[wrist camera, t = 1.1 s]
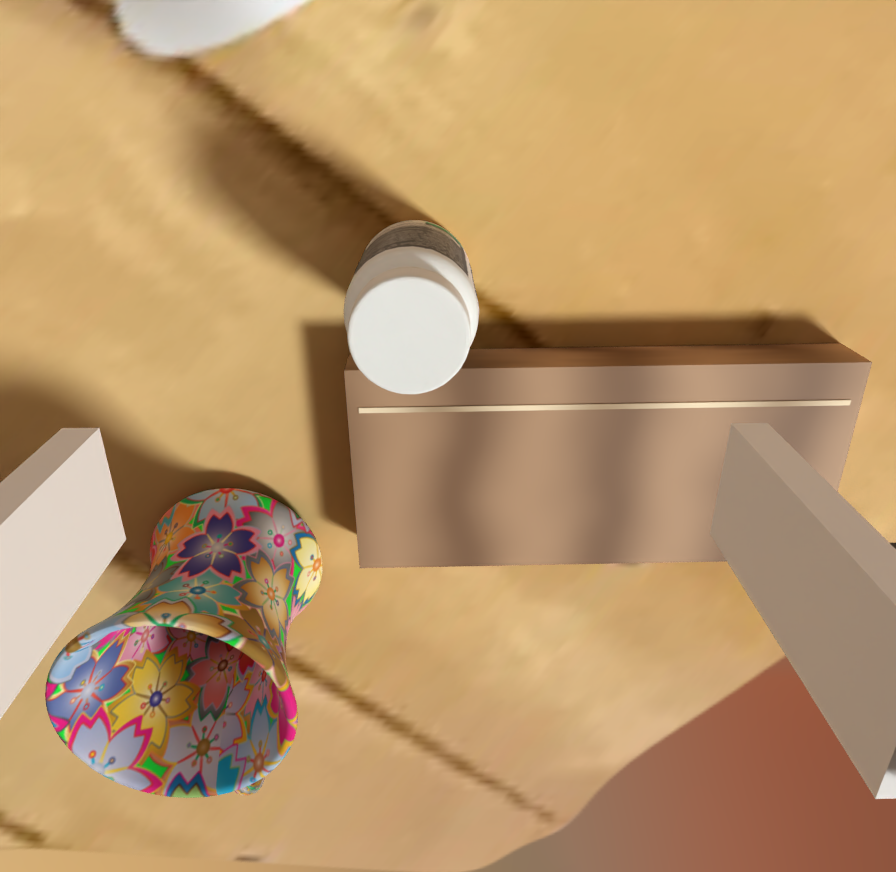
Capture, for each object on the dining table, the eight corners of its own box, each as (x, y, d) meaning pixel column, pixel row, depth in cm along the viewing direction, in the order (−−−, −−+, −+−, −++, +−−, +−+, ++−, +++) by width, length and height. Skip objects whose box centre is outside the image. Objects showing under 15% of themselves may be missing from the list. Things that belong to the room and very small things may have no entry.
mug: (117, 495, 34) (-5, 649, 25) (297, 452, 33) (243, 595, 24) (212, 673, 39) (140, 857, 30) (370, 640, 39) (349, 819, 29)
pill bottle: (342, 240, 29) (310, 290, 22) (450, 201, 29) (456, 240, 21) (383, 343, 31) (366, 422, 24) (485, 309, 31) (501, 379, 23)
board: (364, 538, 36) (359, 568, 33) (350, 350, 31) (343, 370, 29) (795, 530, 36) (819, 560, 34) (840, 343, 31) (872, 362, 29)
